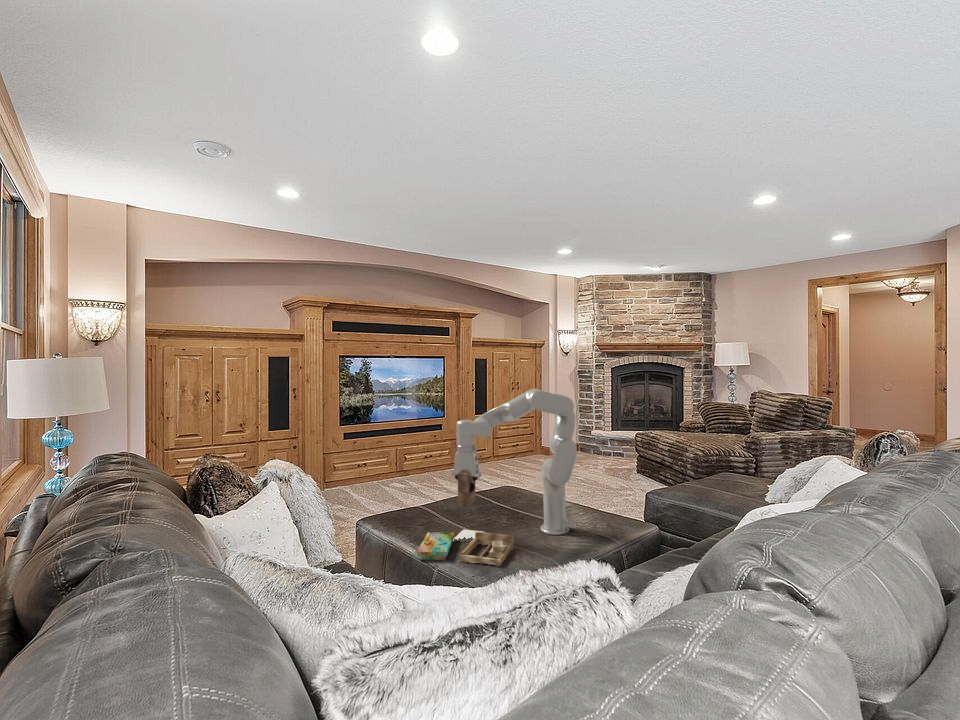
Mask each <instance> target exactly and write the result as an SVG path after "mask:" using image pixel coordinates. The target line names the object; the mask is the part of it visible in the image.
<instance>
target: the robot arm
mask: <svg viewBox="0 0 960 720" xmlns="http://www.w3.org/2000/svg"><path fill="white" fill-rule="evenodd" d="M534 410H536V411H539V412H543V413H547V414H551V415H555V424H554V429H553V432H552V436H551V439H550V442H549V443H550V444H549V450H550V452H551V453H552V454H553V457H549V458H547V459H545V460H544V461H543V463H542V465H541V480H542V489H543V490H542V493H543V494H542V495H543V496H542V497H543V498H542V500H543V501H542V503H543V524H541V525H540V531H541V532H543V533H544V534H547V535H555V536H557V535H564V534H567V533H569V532H570V529H576V528H577V527H576V526H577V525H576V523H575V522H573V521H572V522H571V521H568V518H566V488H565V487H566V484H567V483H569V481H570V479H571V478H572V477H571V476H572V474H573V471H574V467H575V463H576V459H577V453H578V448H577V445H576V444H575V443H576V442H574V441H573V436H574V432H575V428H576V427H575V426H576V415H575V412H574V410H575V404H574V401H573V400H572V399H571V398H570V396H566V395H564V394H561V393H552V392H548V391H545V390H542V389H539V388H531V389H528V390H527V391H525V392H523V393H521V394H519V395H518V396H515V398H513V399H511V400H509V401H507V402H505V403H503V404H501V405H499V406H497V407H494V408H492V409H490V410H488V411H487V412H485V413H482V414H481V415H479V416H478V417H476V418H475V420H474V421H473V420H472V419H460V420H458V421H457V422H456V428H455V429H456V452H455V455H454V462H453V463H454V464H453V470H452V472H451V473H450V475H452V477H454V478H455V479H456V481H458V473H459V472H469V476H470V481H471V483H470V492H471V493H472V492H473V491H474V489H475V490H476V481H478V479H480V478H481V477H482V476H483V474H482V472H481V471H480V466H479V458H478V453H477V451H478V449H479V448H478V446H476V444H475V438H488V437H490V436H491V435H492V433H493V430H494V429H493V428H495V427H496V426H498V425H500V424H503V423H507V422H514V421H517V420H519V419H520V418H522V417H524V416H525V415H527V414H529V413H531V412H532V411H534Z"/></svg>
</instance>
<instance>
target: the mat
mask: <svg viewBox="0 0 960 720" xmlns="http://www.w3.org/2000/svg"><path fill="white" fill-rule="evenodd" d="M475 532H484V531H482V530H472V529H471V530H470V529H462V530H461V531H460V532H459V533H458V534H457V535H456V536H455V537H454V539H457V540H458V539H459V538H460V539H463V538H464V537H465V538H466V539H468V538H471V537H472V538H473V539H474V538H475ZM454 539H453V542H454Z"/></svg>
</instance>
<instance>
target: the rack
mask: <svg viewBox="0 0 960 720" xmlns="http://www.w3.org/2000/svg"><path fill="white" fill-rule="evenodd" d="M514 536H515V535H513V534H504V533H503V534H501V533H492V532H485V531H483V532H475V538H474V539H473V540H472V541H471V542H470V543H468V545H466V547H465V548H463V550H461V552H460V555H459V563H460V562H461V563H467V562H469V563H468V564H474V563H485V564H494V565H500V564H501V563H502V562H503V560H504V559H505V557H506V556H507V555H508V553H509V552H510V551H511V550H512V548H513V547H514V548H515V544H514V543H515V540H514V539H515V538H514ZM500 540H502V543H503V545H507V547H506V549H505V550H504V551H503V553H502V554H501V555H500V556H499V558H498V559H495V558H489V557H485V556H483V557H482V555H483V554H484V553H485V552H486V550H487V549H488V548H489V547H490V546H491V545H492V541H500ZM478 543H480V544H489V545H488V546H486V548H485V549H484V550H483V552H481V554H480V555H479V556H478V555H470V554H471V553H472V552H473V551H472V549H473V548H474V547H475V546H476V545H477V544H478ZM491 547H492V546H491ZM514 548H513V549H514ZM471 551H472V552H471ZM512 551H513V550H512ZM512 551H511V552H512ZM470 552H471V553H470ZM511 552H510V553H511ZM469 553H470V554H469ZM468 554H469V555H468ZM508 556H509V555H508ZM505 560H506V559H505ZM503 563H504V562H503ZM503 563H502V564H503Z"/></svg>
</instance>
